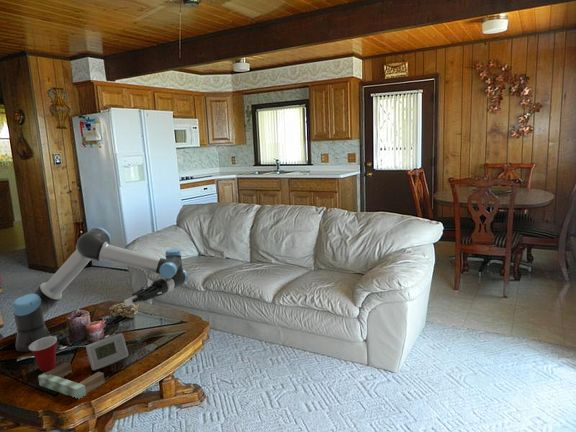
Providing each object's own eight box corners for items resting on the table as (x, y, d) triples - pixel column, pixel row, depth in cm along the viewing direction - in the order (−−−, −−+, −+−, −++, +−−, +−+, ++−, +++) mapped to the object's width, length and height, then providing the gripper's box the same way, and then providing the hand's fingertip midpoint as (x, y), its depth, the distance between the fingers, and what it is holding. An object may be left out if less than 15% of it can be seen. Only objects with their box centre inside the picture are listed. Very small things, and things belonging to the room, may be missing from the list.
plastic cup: (28, 370, 188) (23, 344, 186) (53, 359, 197) (48, 334, 194) (41, 377, 182) (36, 350, 180) (66, 365, 191) (62, 339, 188)
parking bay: (39, 385, 176) (37, 376, 175) (66, 370, 186) (65, 361, 186) (79, 399, 165) (77, 389, 164) (105, 382, 175) (104, 373, 174)
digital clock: (90, 373, 183) (87, 349, 181) (87, 364, 191) (83, 341, 189) (131, 360, 192) (127, 337, 190) (126, 352, 199) (123, 330, 197)
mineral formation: (137, 318, 236) (107, 321, 232) (139, 312, 249) (111, 315, 245) (137, 303, 236) (107, 305, 232) (139, 298, 249) (110, 301, 245)
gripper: (152, 277, 220) (114, 294, 200) (171, 279, 214) (134, 297, 194) (154, 291, 222) (116, 309, 201) (173, 294, 216) (137, 313, 195)
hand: (125, 303), depth 198 cm, fingers closed
